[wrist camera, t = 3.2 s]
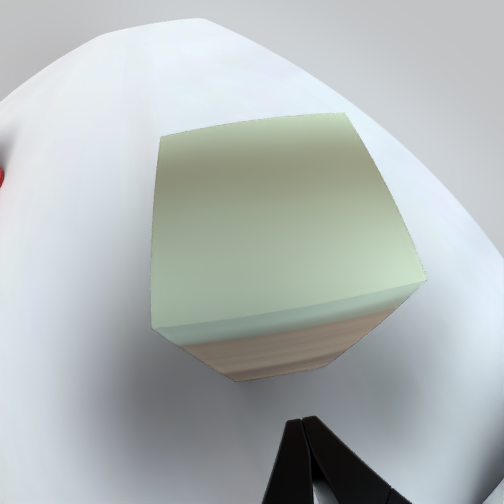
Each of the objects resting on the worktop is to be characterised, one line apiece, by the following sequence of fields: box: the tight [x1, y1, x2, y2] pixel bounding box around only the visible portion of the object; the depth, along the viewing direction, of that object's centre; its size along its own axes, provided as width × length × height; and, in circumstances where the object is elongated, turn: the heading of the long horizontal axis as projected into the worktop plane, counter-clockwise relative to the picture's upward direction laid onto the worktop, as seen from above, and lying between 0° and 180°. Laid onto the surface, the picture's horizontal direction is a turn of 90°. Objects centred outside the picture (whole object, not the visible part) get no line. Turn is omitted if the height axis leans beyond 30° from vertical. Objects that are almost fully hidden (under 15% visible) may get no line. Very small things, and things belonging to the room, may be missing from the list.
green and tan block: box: [151, 113, 427, 382], centre depth 11 cm, size 5×5×12 cm
